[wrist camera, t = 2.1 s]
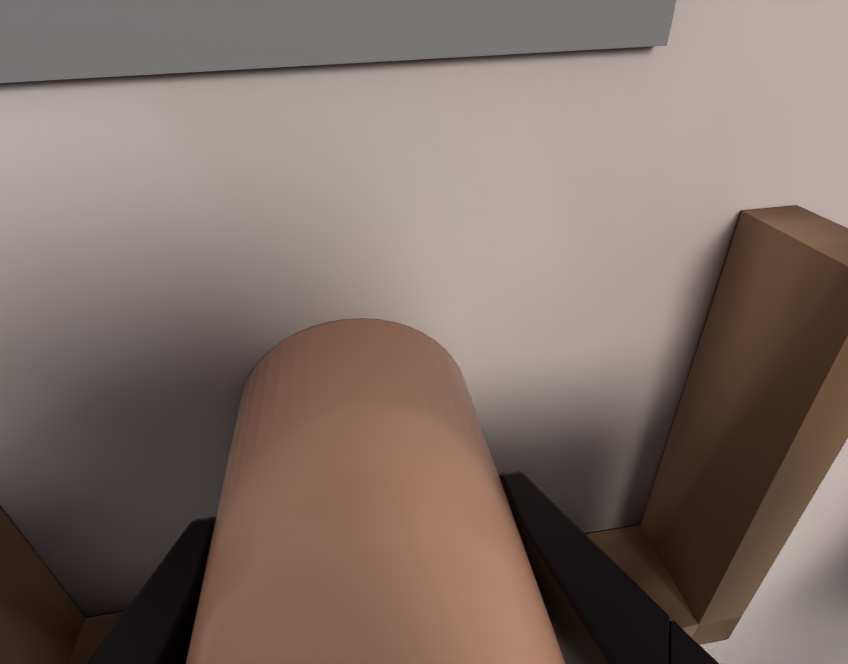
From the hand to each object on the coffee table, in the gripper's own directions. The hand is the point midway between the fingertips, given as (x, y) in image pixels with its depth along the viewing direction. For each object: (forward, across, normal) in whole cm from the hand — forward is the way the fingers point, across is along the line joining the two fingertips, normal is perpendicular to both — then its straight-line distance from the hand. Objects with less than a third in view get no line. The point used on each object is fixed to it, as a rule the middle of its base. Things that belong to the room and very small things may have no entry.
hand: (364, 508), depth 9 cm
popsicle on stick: (+2, 0, +1) cm, 3 cm away
